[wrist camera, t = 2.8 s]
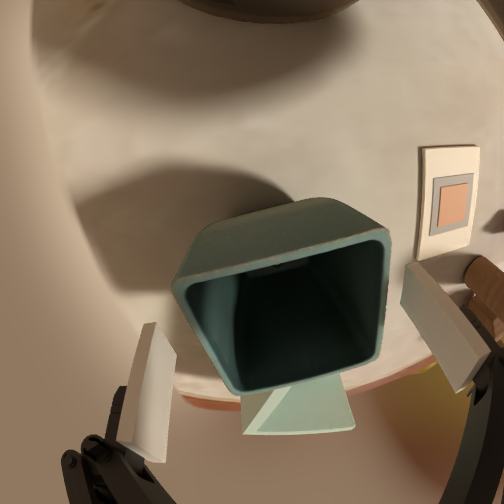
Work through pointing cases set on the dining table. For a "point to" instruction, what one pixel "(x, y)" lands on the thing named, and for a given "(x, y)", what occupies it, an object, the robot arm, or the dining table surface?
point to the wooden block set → (487, 296)
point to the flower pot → (287, 293)
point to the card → (447, 199)
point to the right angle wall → (298, 409)
